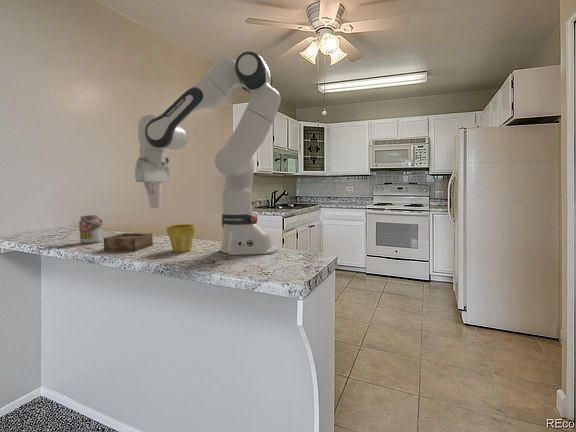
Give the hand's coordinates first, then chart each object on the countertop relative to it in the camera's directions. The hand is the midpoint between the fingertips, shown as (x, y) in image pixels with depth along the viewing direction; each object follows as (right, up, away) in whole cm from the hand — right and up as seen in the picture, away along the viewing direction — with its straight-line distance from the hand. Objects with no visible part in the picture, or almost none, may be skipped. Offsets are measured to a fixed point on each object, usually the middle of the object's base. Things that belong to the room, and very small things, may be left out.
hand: (154, 193), depth 129 cm
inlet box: (-12, -22, +4) cm, 25 cm away
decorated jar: (-35, -21, +17) cm, 44 cm away
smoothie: (0, -6, +1) cm, 6 cm away
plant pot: (+12, -23, -2) cm, 25 cm away
